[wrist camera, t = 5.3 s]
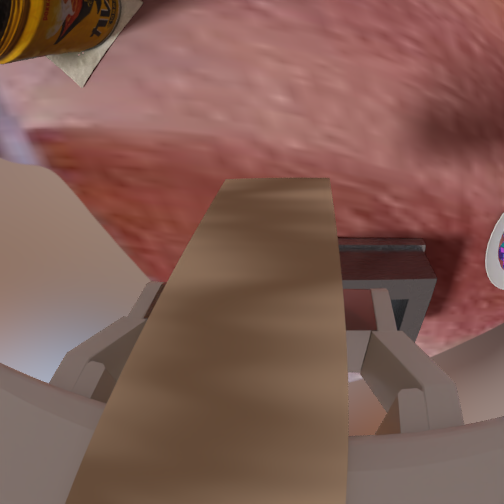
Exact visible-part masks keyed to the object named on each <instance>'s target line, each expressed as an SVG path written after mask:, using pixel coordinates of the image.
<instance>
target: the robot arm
mask: <svg viewBox="0 0 504 504" xmlns="http://www.w3.org/2000/svg"><path fill="white" fill-rule="evenodd" d="M166 284H167V282H154V281H151V282H149V283H147V285H146V287H145V288H144V290H143V291H142V293H141V295H140V296H139V298H138V300H137V302H136V303H135V305H134V306H133V308H132V310H131V312H130V313H129V315H128V317H122V318H120V319H119V320H117V321H116V322H114V323H113V324H111V325H110V326H108V327H106V328H105V329H103V330H102V331H100V332H98V333H97V334H95V335H94V336H92V337H91V338H89V339H88V340H86V341H85V342H83V343H81V344H80V345H78V346H77V347H75V348H74V349H72V350H71V351H69V352H68V353H67V354H66V355H65V357H64V358H63V360H62V362H61V364H60V365H59V367H58V369H57V370H56V372H55V374H54V376H53V377H52V379H51V381H50V382H49V384H48V383H46V382H43V381H41V380H38V379H36V378H33V377H31V376H28V375H26V374H24V373H22V372H19V371H17V370H15V369H13V368H10V367H8V366H6V365H4V364H2V363H0V504H65V503H66V500H67V497H68V495H69V492H70V489H71V487H72V484H73V482H74V479H75V477H76V474H77V472H78V469H79V467H80V464H81V462H82V459H83V457H84V455H85V452H86V450H87V447H88V445H89V443H90V440H91V438H92V436H93V433H94V431H95V429H96V427H97V424H98V422H99V420H100V418H101V415H102V413H103V411H104V409H105V406H106V404H107V402H108V400H109V398H110V396H111V393H112V391H113V389H114V387H115V385H116V383H117V381H118V378H119V376H120V374H121V372H122V370H123V368H124V366H125V364H126V362H127V360H128V358H129V356H130V354H131V352H132V350H133V348H134V345H135V343H136V341H137V339H138V337H139V335H140V333H141V332H142V330H143V328H144V326H145V324H146V322H147V320H148V318H149V316H150V314H151V312H152V310H153V308H154V306H155V304H156V302H157V300H158V299H159V297H160V295H161V293H162V291H163V289H164V287H165V285H166ZM343 298H344V311H345V325H346V343H347V366H348V372H358V373H360V374H361V376H362V377H363V379H364V380H365V381H366V383H367V384H368V386H369V387H370V389H371V390H372V392H373V393H374V394H375V396H376V397H377V399H378V400H379V402H380V403H381V405H382V406H383V407H384V409H385V410H386V412H387V414H386V416H385V418H384V420H383V421H382V423H381V425H380V426H379V428H378V430H377V431H376V433H375V435H367V436H348V468H347V489H346V504H504V416H503V417H499V418H495V419H490V420H486V421H481V422H476V423H471V424H466V425H464V421H463V416H462V410H461V406H460V401H459V396H458V392H457V387H456V384H455V382H454V381H453V380H452V379H451V378H450V377H449V376H448V375H447V374H446V373H445V372H444V371H443V370H442V369H441V368H440V367H439V366H438V365H437V364H436V363H435V362H434V361H433V360H432V359H431V358H430V357H429V356H428V355H427V354H426V353H425V352H424V351H423V350H422V349H421V348H420V347H418V346H417V345H416V344H415V343H414V342H413V341H412V340H411V339H410V338H409V337H408V336H407V335H406V334H405V333H404V332H403V331H397V327H396V322H395V318H394V313H393V309H392V304H391V300H390V296H389V292H388V290H387V289H386V288H380V289H343Z"/></svg>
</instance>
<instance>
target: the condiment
mask: <svg viewBox="0 0 504 504" xmlns="http://www.w3.org/2000/svg"><path fill="white" fill-rule="evenodd" d="M142 4H143V2H142V1H140V0H0V64H6V63H12V62H16V61H21V60H27V59H32V58H36V57H42V56H46V57H47V58H48V59H50V60H51V61H52V62H53V63H54V64H56V65H57V66H58V67H59V68H61V69H62V70H63V71H64V73H66V74H67V75H68V76H69V77H70V78H72V79H73V80H74V81H75V82H76V83H77V84H78V85H79V86H80V87H81V88H82V87H83V86H84V84H85V82H86V80H87V79H88V77H89V76H90V75H91V73H92V71H93V69H94V68H95V67H96V65H97V64H98V62H99V61H100V59H101V57H102V56H103V55H104V53H105V52H106V51H107V49H108V48H109V47H110V45H111V44H112V43H113V42H114V40H115V39H116V37H117V36H118V35H119V33H120V32H121V31H122V30H123V28H124V27H125V26H126V24H127V23H128V22H129V21H130V19H131V18H132V17H133V15H134V14H135V13H136V12H137V11H138V9H139V8H140V7H141V5H142ZM82 52H84V54H82ZM78 54H80V56H78Z"/></svg>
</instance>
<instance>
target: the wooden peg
mask: <svg viewBox="0 0 504 504" xmlns="http://www.w3.org/2000/svg"><path fill="white" fill-rule="evenodd" d="M347 468H348V366H347V343H346V325H345V311H344V298H343V286H342V275H341V265H340V255H339V246H338V237H337V229H336V221H335V214H334V206H333V199H332V192H331V185H330V179H329V178H251V179H226V180H225V182H224V183H223V185H222V187H221V188H220V190H219V192H218V193H217V195H216V197H215V198H214V200H213V202H212V204H211V205H210V207H209V209H208V210H207V212H206V214H205V215H204V217H203V219H202V221H201V222H200V224H199V226H198V228H197V229H196V231H195V233H194V235H193V236H192V238H191V240H190V242H189V243H188V245H187V247H186V249H185V251H184V252H183V254H182V256H181V258H180V260H179V261H178V263H177V265H176V267H175V269H174V271H173V272H172V274H171V276H170V278H169V280H168V282H167V284H166V285H165V287H164V289H163V291H162V293H161V295H160V297H159V299H158V300H157V302H156V304H155V306H154V308H153V310H152V312H151V314H150V316H149V318H148V320H147V322H146V324H145V326H144V328H143V330H142V332H141V333H140V335H139V337H138V339H137V341H136V343H135V345H134V348H133V350H132V352H131V354H130V356H129V358H128V360H127V362H126V364H125V366H124V368H123V370H122V372H121V374H120V376H119V378H118V381H117V383H116V385H115V387H114V389H113V391H112V393H111V396H110V398H109V400H108V402H107V404H106V406H105V409H104V411H103V413H102V415H101V418H100V420H99V422H98V424H97V427H96V429H95V431H94V433H93V436H92V438H91V440H90V443H89V445H88V447H87V450H86V452H85V455H84V457H83V459H82V462H81V464H80V467H79V469H78V472H77V474H76V477H75V479H74V482H73V484H72V487H71V489H70V492H69V495H68V497H67V500H66V503H65V504H346V489H347Z"/></svg>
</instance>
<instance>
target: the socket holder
mask: <svg viewBox="0 0 504 504" xmlns="http://www.w3.org/2000/svg"><path fill="white" fill-rule="evenodd" d="M338 246H339V255H340V265H341V275H342V286H343V289H380V288H386V289H387V290H388V292H389V296H390V300H391V304H392V309H393V313H394V318H395V322H396V327H397V331H403V332H404V333H405V334H406V335H407V336H408V337H409V338H410V339H411V340H412V341H413V342H414V343H415V341H416V338H417V336H418V333H419V330H420V328H421V325H422V322H423V320H424V317H425V314H426V311H427V308H428V306H429V303H430V300H431V297H432V294H433V291H434V287H435V284H436V281H437V277H436V275H435V273H434V271H433V269H432V267H431V265H430V263H429V261H428V259H427V257H426V255H425V253H424V251H425V247H426V244H425V242H424V241H423V239H409V238H338Z"/></svg>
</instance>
